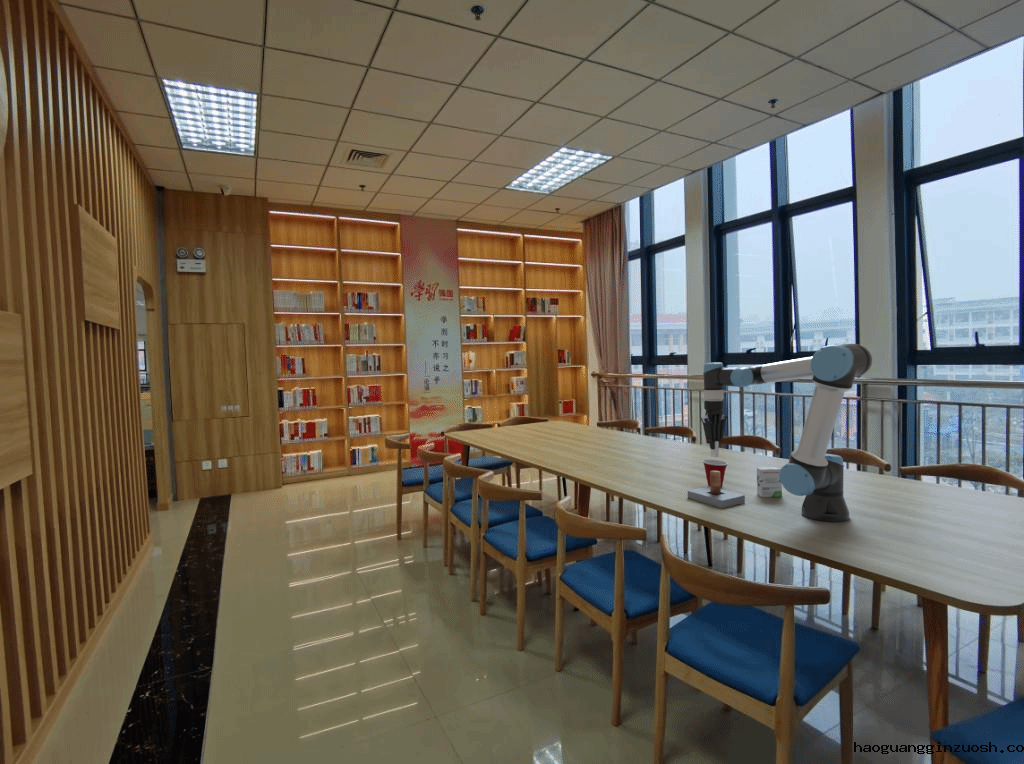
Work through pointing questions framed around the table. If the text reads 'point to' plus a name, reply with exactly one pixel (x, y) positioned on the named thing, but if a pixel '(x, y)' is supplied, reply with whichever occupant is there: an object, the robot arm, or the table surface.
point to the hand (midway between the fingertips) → (714, 456)
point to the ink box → (769, 482)
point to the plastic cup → (715, 469)
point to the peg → (715, 483)
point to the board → (716, 497)
